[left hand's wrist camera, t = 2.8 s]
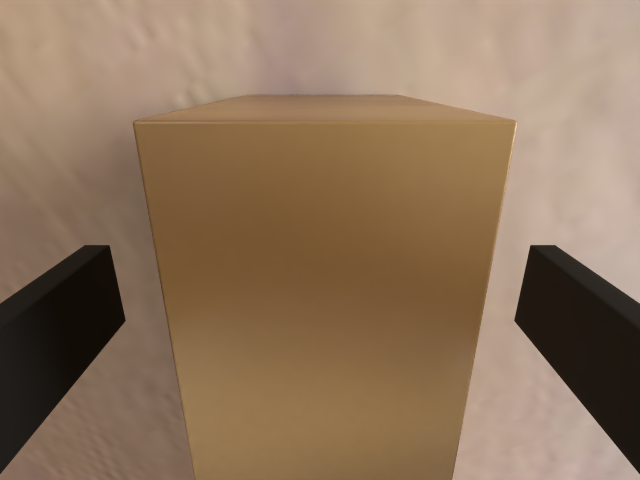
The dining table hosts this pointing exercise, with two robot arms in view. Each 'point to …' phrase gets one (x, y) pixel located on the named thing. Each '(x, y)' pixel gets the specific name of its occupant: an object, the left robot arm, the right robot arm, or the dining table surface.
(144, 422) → the dining table surface
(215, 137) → the bar
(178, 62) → the dining table surface
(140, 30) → the dining table surface
